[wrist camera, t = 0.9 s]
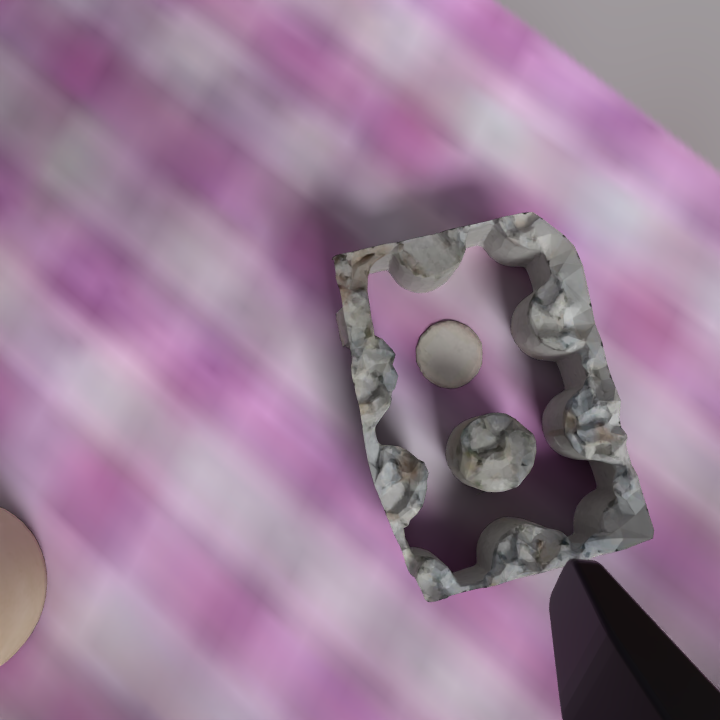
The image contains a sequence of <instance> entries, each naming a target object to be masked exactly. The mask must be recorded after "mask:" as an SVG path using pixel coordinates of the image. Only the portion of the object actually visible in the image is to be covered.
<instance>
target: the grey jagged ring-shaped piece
mask: <svg viewBox="0 0 720 720" xmlns="http://www.w3.org/2000/svg"><path fill="white" fill-rule="evenodd" d="M474 246H480V247H483V248H484V250H485V251H486V252H487V253H488V255H489V256H490V257H491V258H492V259H494V260H495V261H496V262H497V263H500V264H502V265H505V266H510V267H517V266H520V267H524V268H526V270H527V272H528V275H529V278H530V281H531V284H532V288H533V293H531V294H530V295H529V296H527V297H526V298H524V299H523V300H522V301H521V302H520V303H519V304H518V306H517V307H516V308H515V310H514V312H513V315H512V319H511V334H512V336H513V339H514V341H515V343H516V344H517V345H518V347H519V348H520V350H521V351H522V352H524V353H525V354H526V355H528V356H529V357H532V358H535V359H537V360H545V361H555V362H556V363H557V365H558V367H559V370H560V374H561V377H562V380H563V383H564V387H565V389H564V391H562V392H561V393H559V394H557V395H556V396H555V397H553V398H552V399H551V400H550V402H549V403H548V405H547V406H546V408H545V410H544V412H543V416H542V427H543V432H544V436H545V439H546V441H547V442H548V444H549V445H550V447H551V448H552V449H553V450H554V451H555V452H557V453H558V454H560V455H562V456H564V457H567V458H571V459H575V460H587V461H589V464H590V466H591V469H592V472H593V475H594V478H595V482H596V486H597V487H596V489H595V490H593V491H591V492H590V493H588V494H587V495H586V496H585V497H583V498H582V500H581V501H580V502H579V504H578V505H577V507H576V510H575V514H574V522H573V528H574V533H573V534H571V535H569V536H566V535H565V534H564V533H562V532H561V531H559V530H555V529H550V528H545V527H544V526H541V525H539V524H536V523H534V522H531V521H528V520H525V519H522V518H517V517H503V518H499V519H496V520H495V521H493V522H492V523H490V524H489V525H488V526H487V527H486V528H485V529H484V530H483V532H482V533H481V535H480V537H479V540H478V542H477V548H476V557H477V563H476V564H475V565H474V566H472V567H469V568H464V569H462V570H459V571H455V572H451V571H450V569H449V568H448V567H447V566H446V565H445V564H444V563H443V562H442V561H441V560H439V559H438V558H437V557H436V556H435V555H433V554H432V553H431V552H429V551H428V550H425V549H422V548H418V547H409V545H408V542H407V540H406V538H405V534H404V528H405V527H407V526H408V525H409V522H410V520H411V519H412V518H413V517H414V516H415V515H416V514H417V513H418V512H419V510H420V509H421V508H422V506H423V503H424V499H425V495H426V490H427V478H428V474H429V473H428V471H427V468H426V466H425V463H424V462H423V461H421V460H418V459H417V458H416V457H415V456H414V455H412V454H411V453H410V452H409V451H407V450H406V449H403V448H401V447H399V446H393V445H382V444H379V443H378V441H377V438H376V432H375V426H376V424H377V423H378V422H379V420H380V419H381V418H382V416H383V415H384V414H385V412H386V411H387V410H388V408H389V407H390V404H391V400H392V398H391V394H392V391H393V390H394V389H395V386H396V382H397V378H398V375H397V373H396V371H395V369H394V367H393V365H392V364H393V361H394V358H395V353H394V352H393V350H392V349H391V348H390V347H389V346H388V345H387V344H386V343H385V342H384V341H383V339H381V338H379V337H377V336H375V335H374V329H373V324H372V319H371V313H370V306H369V299H368V292H367V282H368V275H369V274H371V273H375V272H379V271H385V270H388V271H389V273H390V274H391V276H392V277H393V278H394V280H395V281H396V282H397V283H398V284H399V285H400V286H401V287H403V288H404V289H406V290H409V291H411V292H415V293H426V292H430V291H433V290H435V289H437V288H439V287H440V286H441V285H443V284H444V283H445V282H447V280H448V279H449V278H450V277H451V275H452V274H453V273H454V271H455V270H456V269H457V268H458V266H459V264H460V262H461V260H462V258H463V255H464V253H465V250H466V248H469V247H474ZM332 260H335V261H334V263H335V271H336V280H337V284H338V286H339V289H340V294H341V299H342V305H343V307H342V308H341V309H340V310H339V311H338V312H337V313H336V321H337V325H338V329H339V334H340V339H341V342H342V346H343V347H345V346H346V347H347V348H350V350H351V355H352V364H351V372H352V379H353V383H354V386H355V392H356V397H357V400H358V404H359V408H360V414H361V421H362V429H363V435H364V442H365V448H366V453H367V459H368V463H369V467H370V471H371V474H372V478H373V482H374V485H375V488H376V490H377V493H378V495H379V498H380V500H381V503H382V505H383V508H384V510H385V513H386V515H387V518H388V520H389V523H390V525H391V528H392V530H393V533H394V535H395V537H396V539H397V541H398V543H399V545H400V547H401V550H402V552H403V556H404V559H405V563H406V566H407V569H408V571H409V572H410V574H411V575H412V576H414V577H415V579H416V580H417V583H418V585H419V587H420V589H421V591H422V593H423V595H424V599H425V600H426V601H428V602H434V601H438V600H441V599H445V598H448V597H449V596H451V595H455V594H458V593H462V592H466V591H470V590H474V589H478V588H487V587H491V586H495V585H499V584H502V583H504V582H507V581H511V580H514V579H518V578H522V577H526V576H530V575H535V574H539V573H543V572H546V571H549V570H553V569H557V568H561V567H564V566H565V564H566V562H567V561H568V560H570V559H573V558H576V559H585V560H589V559H591V558H593V557H596V556H599V555H604V554H608V553H612V552H616V551H620V550H623V549H627V548H629V547H632V546H634V545H637V544H640V543H642V542H645V541H647V540H650V539H652V538H653V534H654V529H653V525H652V522H651V519H650V516H649V513H648V509H647V506H646V503H645V500H644V497H643V493H642V490H641V487H640V483H639V480H638V476H637V474H636V472H635V470H634V468H633V466H632V465H631V462H630V458H629V455H628V451H627V447H626V441H627V434H626V433H625V432H624V430H623V429H622V428H621V425H620V418H619V415H620V404H621V401H620V398H619V395H618V393H617V390H616V387H615V385H614V382H613V380H612V378H611V375H610V372H609V369H608V366H607V361H606V357H605V353H604V348H603V344H602V341H601V338H600V335H599V333H598V330H597V328H596V325H595V321H594V316H593V311H592V306H591V301H590V297H589V292H588V287H587V283H586V278H585V274H584V269H583V265H582V263H581V260H580V258H579V256H578V253H577V251H576V249H575V247H574V246H573V245H572V243H571V242H570V241H569V240H568V239H567V238H566V237H565V236H564V235H563V234H561V233H560V232H559V231H558V230H556V229H555V228H554V227H552V226H551V225H550V224H548V223H547V222H546V221H545V220H543V219H542V218H541V217H539V216H538V215H536V214H535V213H533V212H528V213H520V214H516V215H510V216H505V217H501V218H498V219H494V220H490V221H486V222H482V223H477V224H473V225H468V226H464V227H458V228H454V229H450V230H447V231H444V232H440V233H436V234H434V235H427V236H423V237H418V238H413V239H409V240H405V241H401V242H396V243H389V244H383V245H379V246H375V247H371V248H366V249H362V250H358V251H354V252H349V253H344V254H339V255H336V256H334V257H333V259H332ZM416 361H417V364H418V366H419V368H420V371H421V372H422V373H423V376H424V377H425V378H426V379H428V380H429V381H430V382H431V383H433V384H435V385H437V386H439V387H443V388H448V389H451V388H459V387H461V386H463V385H465V384H467V383H469V382H470V381H471V380H472V379H473V378H474V377H475V376H476V375H477V374H478V372H479V369H480V367H481V365H482V343H481V341H480V340H479V338H478V336H477V335H476V334H475V333H474V331H473V330H472V329H470V328H469V327H467V326H465V325H463V324H461V323H459V322H456V321H443V322H438V323H436V324H434V325H432V326H430V327H429V328H428V330H426V331H425V332H424V333H423V334H422V336H421V337H420V338H419V342H418V345H417V347H416ZM535 455H536V440H535V437H534V435H533V434H532V433H531V432H530V431H529V430H527V429H526V428H525V427H524V426H523V425H522V424H520V423H519V422H518V421H517V420H516V419H514V418H513V417H511V416H509V415H507V414H504V413H489V414H485V415H482V416H477V417H473V418H470V419H468V420H465V421H463V422H462V423H460V424H459V425H458V426H456V427H455V428H454V429H453V431H452V432H451V434H450V436H449V438H448V442H447V446H446V460H447V463H448V466H449V468H450V470H451V471H452V473H453V475H454V476H455V477H456V478H457V479H458V480H459V481H460V482H462V483H463V484H465V485H467V486H471V487H473V488H477V489H479V490H482V491H483V492H484V491H486V492H504V491H507V490H510V489H513V488H516V487H518V486H519V485H520V484H521V482H522V481H523V480H524V479H525V477H526V476H527V475H528V474H529V473H530V471H531V468H532V467H533V465H534V460H535ZM481 493H482V492H481ZM479 494H480V493H479ZM477 495H478V494H477Z"/></svg>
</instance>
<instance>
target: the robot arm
mask: <svg viewBox="0 0 720 720" xmlns="http://www.w3.org/2000/svg"><path fill="white" fill-rule="evenodd" d="M549 612H550V621H551V629H552V638H553V647H554V656H555V664H556V673H557V682H558V691H559V699H560V706H561V713H562V719H563V720H720V692H719V690H718V689H717V688H716V687H715V686H714V685H713V684H712V683H711V682H710V681H709V680H708V679H707V678H706V677H705V675H704V674H703V673H702V672H701V671H700V670H699V669H698V668H697V667H696V666H695V665H694V664H693V663H692V661H691V660H690V659H689V658H688V657H687V656H686V655H685V654H684V653H683V652H682V651H681V650H680V649H679V647H678V646H677V645H676V644H675V643H674V642H673V641H672V640H671V639H670V638H669V637H668V636H667V635H666V633H665V632H664V631H663V630H662V629H661V628H660V627H659V626H658V625H657V624H656V623H655V622H654V621H653V620H652V618H651V617H650V616H649V615H648V614H647V613H646V612H645V611H644V610H643V609H642V608H641V607H640V606H639V604H638V603H637V602H636V601H635V600H634V599H633V598H632V597H631V596H630V595H629V594H628V593H627V592H626V590H625V589H624V588H623V587H622V586H621V585H620V584H619V583H618V582H617V581H616V580H615V579H614V578H613V577H612V575H611V574H610V573H609V572H608V571H607V570H606V569H605V568H604V567H603V566H602V565H601V564H600V563H598V562H596V561H593V560H585V559H576V558H573V559H570V560H568V561H567V562H566V564H565V566H564V568H563V570H562V572H561V574H560V576H559V578H558V581H557V583H556V585H555V587H554V589H553V591H552V594H551V597H550V603H549Z"/></svg>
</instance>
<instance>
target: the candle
mask: <svg viewBox="0 0 720 720" xmlns="http://www.w3.org/2000/svg"><path fill="white" fill-rule="evenodd" d="M46 590H47V573H46V566H45V561H44V558H43V554H42V551H41V549H40V547H39V545H38V542H37V540H36V539H35V537H34V536H33V534H32V533H31V531H30V530H29V529H28V528H27V527H26V525H25V524H24V523H23V522H22V521H21V520H19V519H18V518H17V517H16V516H15V515H13V514H12V513H10V512H9V511H7V510H5V509H3V508H1V507H0V666H1V665H3V664H4V663H6V662H7V661H8V660H9V659H10V658H11V657H12V656H13V655H14V654H15V653H16V652H17V651H18V650H19V649H20V648H21V647H22V645H23V644H24V643H25V642H26V641H27V639H28V638H29V636H30V635H31V633H32V632H33V630H34V628H35V626H36V624H37V622H38V621H39V618H40V615H41V613H42V610H43V607H44V602H45V598H46Z"/></svg>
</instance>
